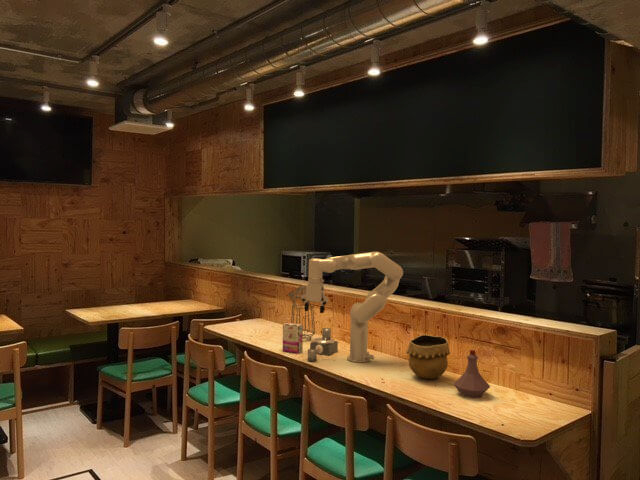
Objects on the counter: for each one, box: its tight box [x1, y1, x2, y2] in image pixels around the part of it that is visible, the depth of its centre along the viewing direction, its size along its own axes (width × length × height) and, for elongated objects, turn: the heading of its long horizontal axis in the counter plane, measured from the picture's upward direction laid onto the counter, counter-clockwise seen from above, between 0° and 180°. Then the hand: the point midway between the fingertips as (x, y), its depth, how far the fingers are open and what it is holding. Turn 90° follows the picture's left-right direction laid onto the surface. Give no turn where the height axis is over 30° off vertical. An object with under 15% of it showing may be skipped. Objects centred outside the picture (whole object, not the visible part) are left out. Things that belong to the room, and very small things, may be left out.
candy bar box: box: [282, 322, 304, 355], centre depth 308 cm, size 11×5×16 cm, turn 62°
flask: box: [452, 349, 491, 399], centre depth 238 cm, size 16×16×20 cm
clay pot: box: [405, 334, 451, 380], centre depth 262 cm, size 21×21×20 cm
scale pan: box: [313, 337, 335, 344], centre depth 309 cm, size 12×12×1 cm
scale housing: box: [309, 340, 339, 357], centre depth 309 cm, size 12×12×6 cm
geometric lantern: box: [287, 285, 316, 342], centre depth 338 cm, size 16×16×35 cm
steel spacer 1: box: [307, 348, 318, 363], centre depth 290 cm, size 5×5×6 cm
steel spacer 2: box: [321, 327, 332, 340], centre depth 311 cm, size 5×5×6 cm
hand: (314, 311), depth 291 cm, fingers open, 9 cm apart
